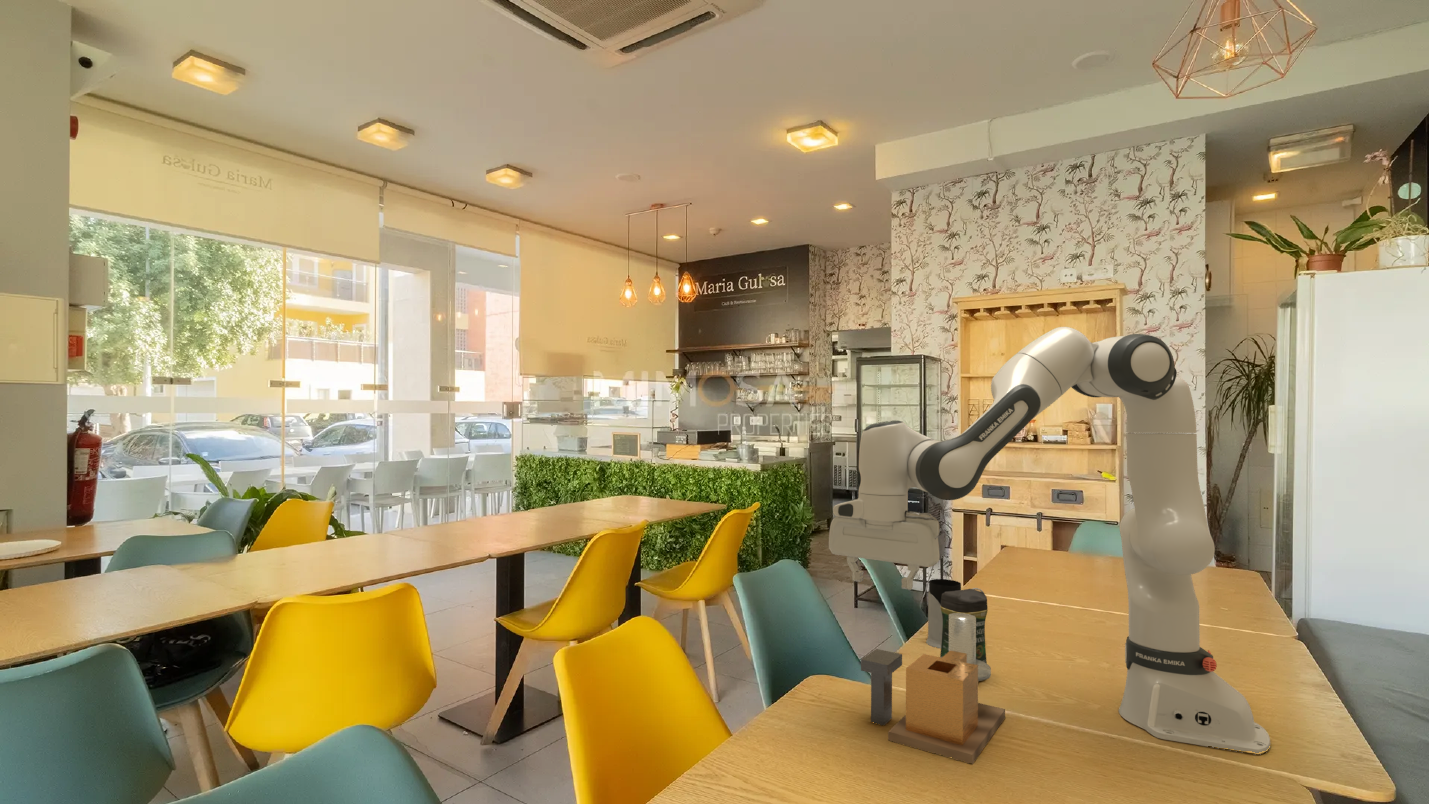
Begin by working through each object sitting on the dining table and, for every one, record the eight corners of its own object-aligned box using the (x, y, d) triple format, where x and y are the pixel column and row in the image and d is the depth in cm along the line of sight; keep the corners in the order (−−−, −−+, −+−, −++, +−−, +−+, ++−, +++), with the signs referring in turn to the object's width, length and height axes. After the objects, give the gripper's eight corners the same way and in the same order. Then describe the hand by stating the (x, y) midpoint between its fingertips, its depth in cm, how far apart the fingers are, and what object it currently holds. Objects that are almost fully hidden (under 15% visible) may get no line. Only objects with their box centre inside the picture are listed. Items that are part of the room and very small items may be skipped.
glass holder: (922, 637, 177) (922, 578, 177) (978, 639, 176) (979, 579, 177) (931, 649, 168) (931, 586, 168) (991, 650, 168) (991, 587, 168)
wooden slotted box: (943, 690, 138) (943, 606, 139) (996, 703, 133) (996, 615, 133) (904, 729, 121) (905, 633, 121) (964, 745, 115) (964, 644, 115)
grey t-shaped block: (876, 710, 132) (876, 648, 132) (901, 717, 129) (902, 654, 130) (860, 723, 126) (860, 659, 127) (887, 731, 123) (887, 665, 124)
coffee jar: (961, 687, 144) (962, 596, 144) (933, 675, 151) (933, 588, 151) (994, 680, 148) (994, 591, 149) (965, 668, 155) (965, 583, 156)
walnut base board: (930, 699, 138) (930, 691, 138) (1005, 717, 130) (1005, 709, 130) (888, 740, 120) (888, 731, 120) (972, 764, 112) (972, 754, 112)
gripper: (945, 512, 125) (944, 590, 125) (839, 503, 137) (838, 574, 137) (933, 516, 120) (933, 597, 120) (825, 505, 132) (824, 579, 132)
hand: (882, 584), depth 128 cm, fingers open, 8 cm apart
